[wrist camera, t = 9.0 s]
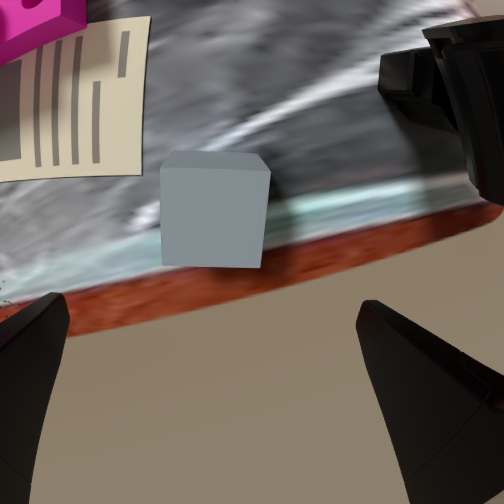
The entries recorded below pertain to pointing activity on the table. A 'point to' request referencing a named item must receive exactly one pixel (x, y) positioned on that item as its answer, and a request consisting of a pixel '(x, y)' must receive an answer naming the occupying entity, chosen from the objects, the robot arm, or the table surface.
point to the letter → (76, 104)
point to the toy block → (37, 24)
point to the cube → (213, 209)
